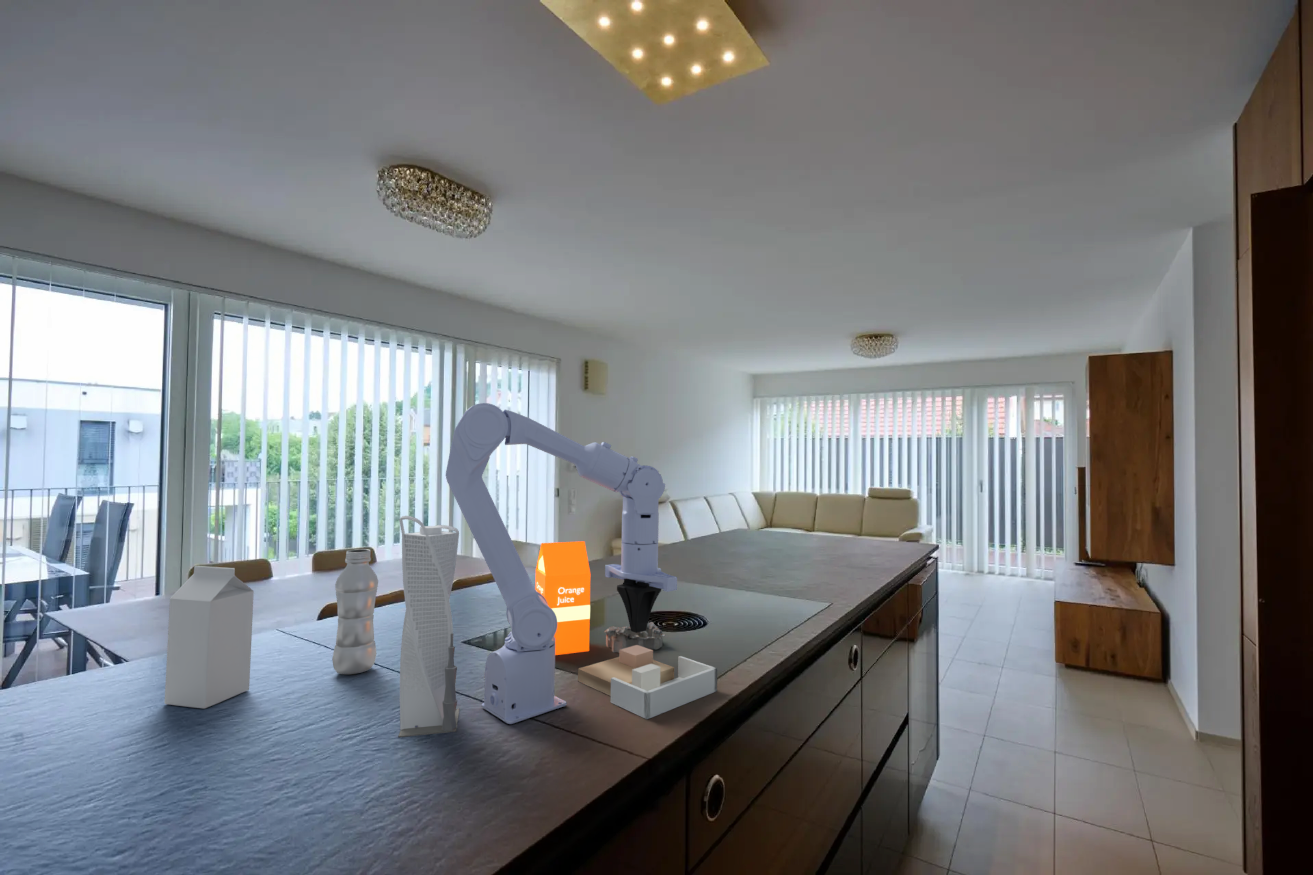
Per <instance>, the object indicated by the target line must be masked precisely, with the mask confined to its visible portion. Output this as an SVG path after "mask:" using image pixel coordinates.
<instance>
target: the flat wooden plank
mask: <svg viewBox="0 0 1313 875" xmlns="http://www.w3.org/2000/svg"><path fill="white" fill-rule="evenodd" d="M650 664H654V665H657V666H659V667H660V684H661V683H664V682H667V681H670V680H672V679H675V666H672V665H669V664H665V663H663V662H660V661H657V660H655V659H653V663H650ZM647 665H648V664H647ZM644 666H645V665H644ZM640 667H642V666H640ZM637 668H639V667H637ZM633 669H636V668H634V667H631V666H628V665H626V664H623V663H621V662H619V656H617V657H614V658H609V659H607V660H604V661H600V662H596V663H592V664H590V665H589V664H588V665H586V666H582V667H579V668H578V669H577V682H579V683H580V684H583V685H585V686H588V687H590V688H592V689H593V690H596V691H598V692H600V693H603V694H604V695H605V694H606V695H608V696H610V697H611V678H613V677H615V678H617V679H620V680H622V681H624V682H627V683H629V684H632V670H633Z"/></svg>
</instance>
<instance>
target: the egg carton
mask: <svg viewBox="0 0 1313 875" xmlns="http://www.w3.org/2000/svg"><path fill="white" fill-rule="evenodd" d="M604 633H605V646H606V648H611V652H612V653H619V650H620V649H624V648H628V647H631V646H635V645H639V646H642V647H645V648H647V649H651V650H659V649H660V648H662V647H663V637H665V636H666V634H665V633H663V631H662V630H661V629H660V627H658V626H657V625H655V623H654V622H653V621H650V622H648V624H647V628H646V631H643V632H639V633H635V632H632V631H631V629H630V625H628V626H622V627H619V626H616V625H615V626H614V625H613V626H610V627H608V628H606V629H605V630H604Z"/></svg>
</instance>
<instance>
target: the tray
mask: <svg viewBox="0 0 1313 875" xmlns="http://www.w3.org/2000/svg"><path fill="white" fill-rule="evenodd" d="M677 660H678V661H677V677H676V678H675V677H674V679H672V680H670V681H667V682H664V683H661V684H660V687H658V688H655V689H652V690H649V691H646V690H644V689H641V688H639V687H636V686H634V685H632V684H629V683H627V682H624V681H622V680H620V679H617V678H615V677H613V678H611V696H610V704H613V705H615V706H617V707H620V708H621V709H624V710H626V711H629V712H630V713H633V714H635V715H636V716H639V717H641V718H643V719H644V720H649V719H651V718H654V717H656V716H659V715H662V714H663V713H666V712H669V711H671V710H673V709H676V708H678V707H681V706H684V705H686V704H688V703H690V702H693V701H696V700H698V699H701V698H703V697H706V696H708V695H711V694H714V693H716V692H718V667H715V666H712V665H710V664H709V665H708V664H705V663H703V662H700V661H697V660H693V659H691V658H688V657H685V656H682V655H680V656H679V655H678V657H677Z"/></svg>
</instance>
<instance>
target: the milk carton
mask: <svg viewBox="0 0 1313 875" xmlns="http://www.w3.org/2000/svg"><path fill="white" fill-rule="evenodd" d="M235 571H236V570H235V567H219V566H202V565H194V568H193V574H192V575H191V576H189V578H188V579H187V580H186V581H185V582H184V583H183V584H182V585H181V586H180V587H179V588H178V589H177V590H176V591H175V592H174V593H173V594H172V595H171V596H170V598H169V610H168V625H167V626H168V628H167V629H168V631H167V632H168V633H167V648H166V649H167V650H166V666H165V667H166V668H165V685H164V686H165V688H164V705H170V706H171V705H172V706H178V707H179V706H180V707H188V708H195V709H207V708H209V707H211V706H214V705H217V704H220V703H221V702H224V701H226V700H229V699H231V698H233V697H236V696H239V695H240V694H242V693H245V692H247V691H249V690H250V681H251V677H250V676H251V661H252V660H251V656H252V638H253V617H254V616H253V615H254V613H253V611H254V596H255V595H254V594H255V593H254V590H253V589H252V588H251V587H249V586H248V585H247V584H246V583H245V582H243V581H242V580H241V579H239V578H238V577H237V576H236V575H235V573H236V572H235Z"/></svg>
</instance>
